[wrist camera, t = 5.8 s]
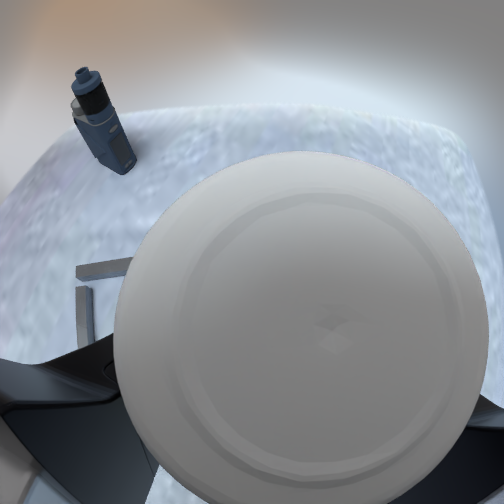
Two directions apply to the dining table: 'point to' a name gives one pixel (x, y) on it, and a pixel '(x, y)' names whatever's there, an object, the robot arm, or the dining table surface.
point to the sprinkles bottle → (301, 334)
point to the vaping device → (100, 122)
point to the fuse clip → (85, 294)
